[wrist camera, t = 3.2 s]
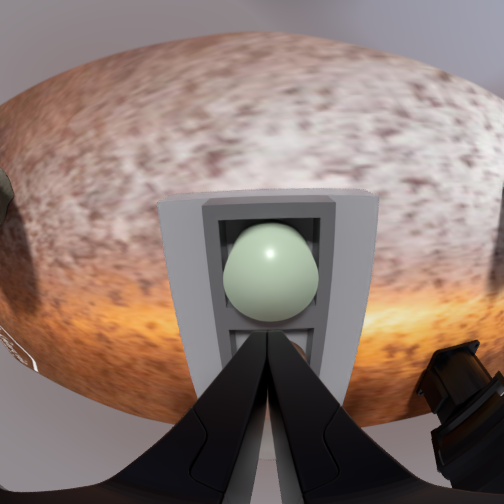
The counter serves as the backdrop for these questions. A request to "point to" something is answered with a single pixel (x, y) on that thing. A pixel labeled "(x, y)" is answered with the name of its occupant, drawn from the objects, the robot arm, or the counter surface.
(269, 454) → the button ivory
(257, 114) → the counter surface
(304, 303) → the button sage
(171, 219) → the button panel
